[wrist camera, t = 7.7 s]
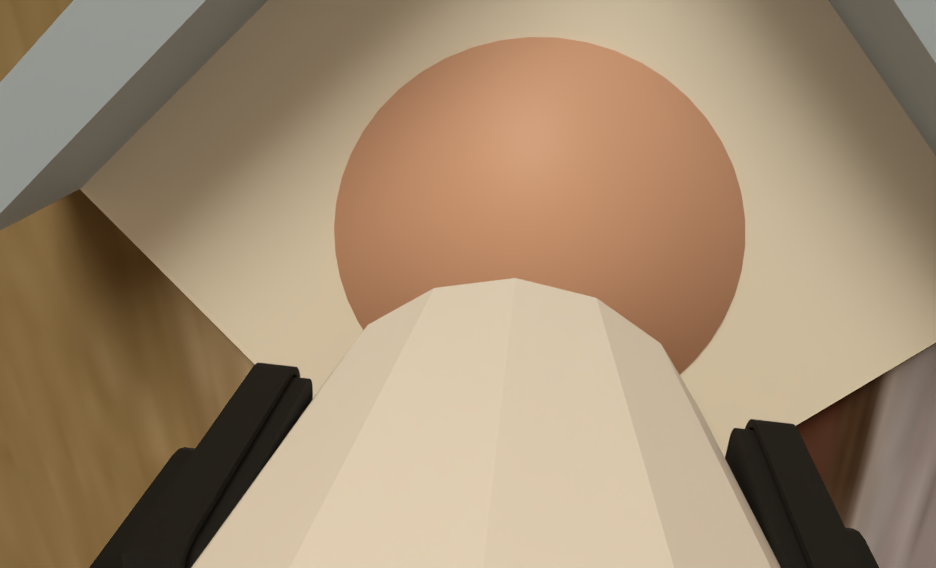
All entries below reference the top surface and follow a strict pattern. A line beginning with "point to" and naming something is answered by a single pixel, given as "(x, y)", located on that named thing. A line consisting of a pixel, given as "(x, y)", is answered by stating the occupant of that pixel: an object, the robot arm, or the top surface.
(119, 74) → the arena
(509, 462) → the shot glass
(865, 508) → the top surface
